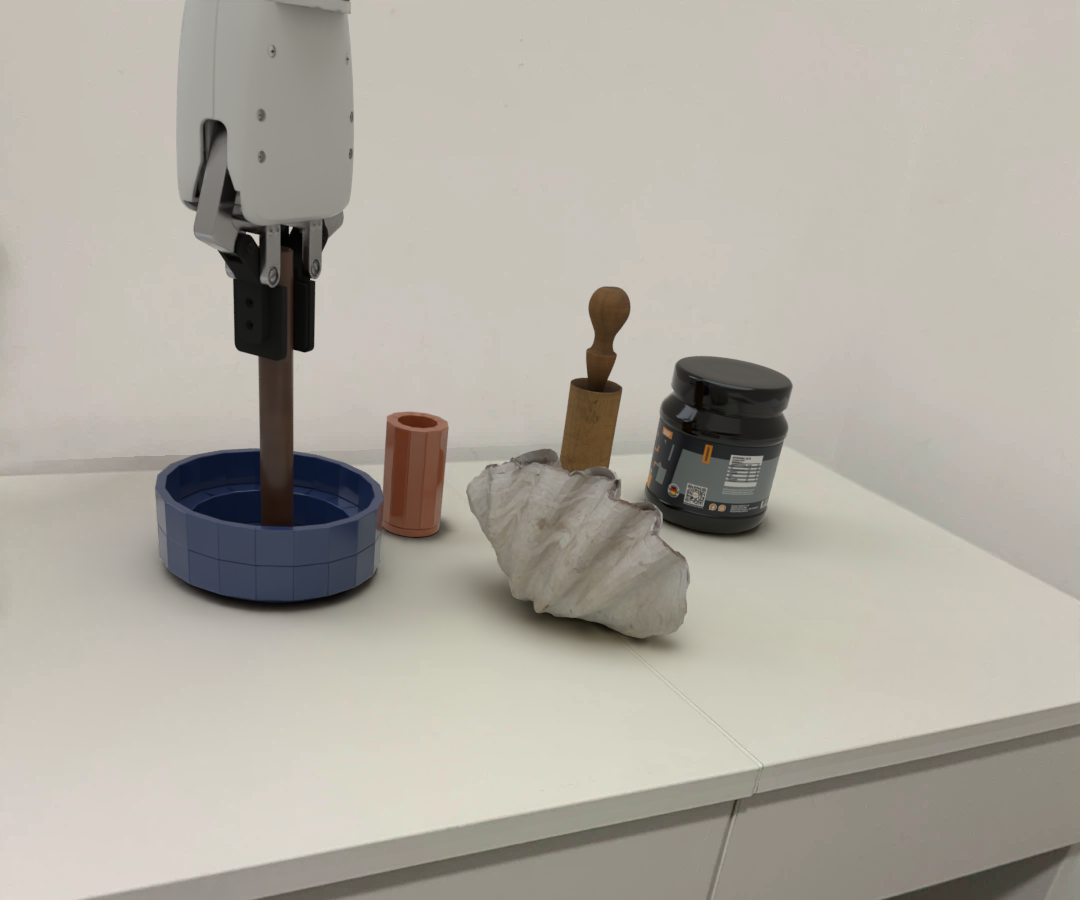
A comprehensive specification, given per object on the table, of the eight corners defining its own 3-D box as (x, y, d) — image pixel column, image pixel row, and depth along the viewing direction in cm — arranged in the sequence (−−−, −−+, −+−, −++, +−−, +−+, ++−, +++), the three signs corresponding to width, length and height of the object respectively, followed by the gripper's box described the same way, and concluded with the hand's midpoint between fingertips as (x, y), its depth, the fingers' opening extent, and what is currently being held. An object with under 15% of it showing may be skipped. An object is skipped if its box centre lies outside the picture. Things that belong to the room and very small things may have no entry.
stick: (255, 549, 68) (248, 246, 58) (273, 539, 69) (270, 243, 60) (281, 557, 67) (279, 252, 58) (299, 547, 69) (300, 249, 59)
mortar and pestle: (524, 528, 82) (557, 285, 73) (544, 502, 88) (576, 272, 78) (607, 547, 82) (651, 303, 72) (621, 519, 87) (664, 288, 77)
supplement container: (678, 481, 97) (706, 347, 90) (782, 518, 92) (820, 379, 86) (618, 507, 89) (645, 363, 83) (729, 549, 85) (766, 399, 78)
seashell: (557, 556, 79) (577, 424, 74) (693, 646, 69) (727, 502, 64) (440, 576, 73) (453, 435, 68) (571, 678, 64) (597, 523, 58)
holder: (369, 526, 79) (375, 420, 75) (398, 509, 82) (405, 407, 78) (422, 542, 78) (430, 435, 74) (449, 524, 81) (458, 421, 77)
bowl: (112, 570, 68) (105, 488, 65) (247, 506, 79) (246, 434, 76) (303, 634, 64) (304, 550, 61) (415, 557, 75) (421, 483, 72)
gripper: (301, -24, 59) (298, 318, 69) (95, -65, 47) (127, 361, 56) (419, -6, 57) (398, 343, 67) (238, -45, 45) (245, 393, 54)
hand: (274, 348), depth 62 cm, fingers closed on stick, 2 cm apart
